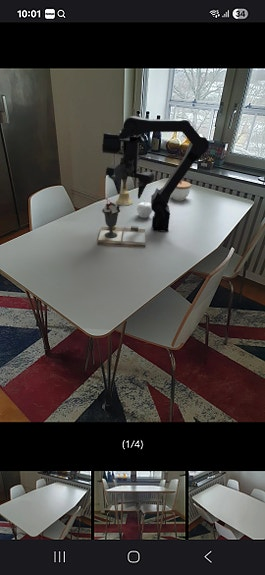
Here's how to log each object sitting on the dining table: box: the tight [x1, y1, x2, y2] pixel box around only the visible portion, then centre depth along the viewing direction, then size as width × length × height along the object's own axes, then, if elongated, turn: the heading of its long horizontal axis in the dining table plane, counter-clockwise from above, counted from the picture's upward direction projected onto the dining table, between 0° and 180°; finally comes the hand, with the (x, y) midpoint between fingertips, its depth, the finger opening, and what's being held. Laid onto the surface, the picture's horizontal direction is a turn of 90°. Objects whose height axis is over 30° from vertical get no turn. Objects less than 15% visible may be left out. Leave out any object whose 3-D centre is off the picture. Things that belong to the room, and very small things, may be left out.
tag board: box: [96, 224, 146, 248], centre depth 124 cm, size 18×14×2 cm
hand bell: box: [115, 178, 133, 207], centre depth 152 cm, size 8×8×16 cm
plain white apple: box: [136, 199, 153, 219], centre depth 141 cm, size 7×7×8 cm
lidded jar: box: [170, 179, 192, 201], centre depth 163 cm, size 11×11×9 cm
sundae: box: [101, 198, 121, 238], centre depth 118 cm, size 7×7×15 cm
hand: (128, 196), depth 126 cm, fingers open, 9 cm apart
